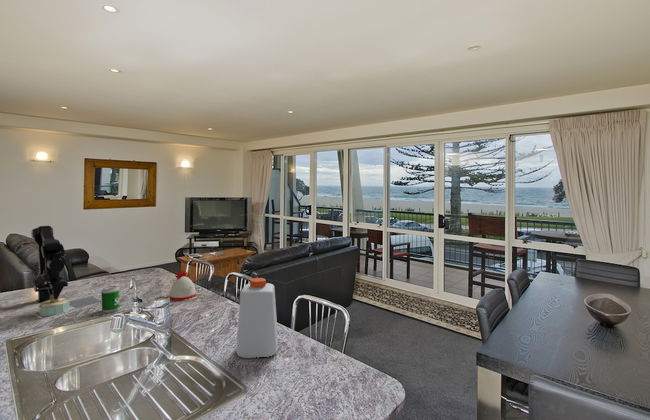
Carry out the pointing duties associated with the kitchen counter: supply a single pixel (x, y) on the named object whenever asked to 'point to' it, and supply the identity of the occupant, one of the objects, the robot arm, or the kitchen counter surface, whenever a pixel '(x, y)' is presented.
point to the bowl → (54, 309)
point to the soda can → (110, 299)
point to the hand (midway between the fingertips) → (54, 298)
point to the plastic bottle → (257, 320)
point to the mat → (84, 302)
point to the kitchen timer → (182, 287)
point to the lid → (54, 302)
